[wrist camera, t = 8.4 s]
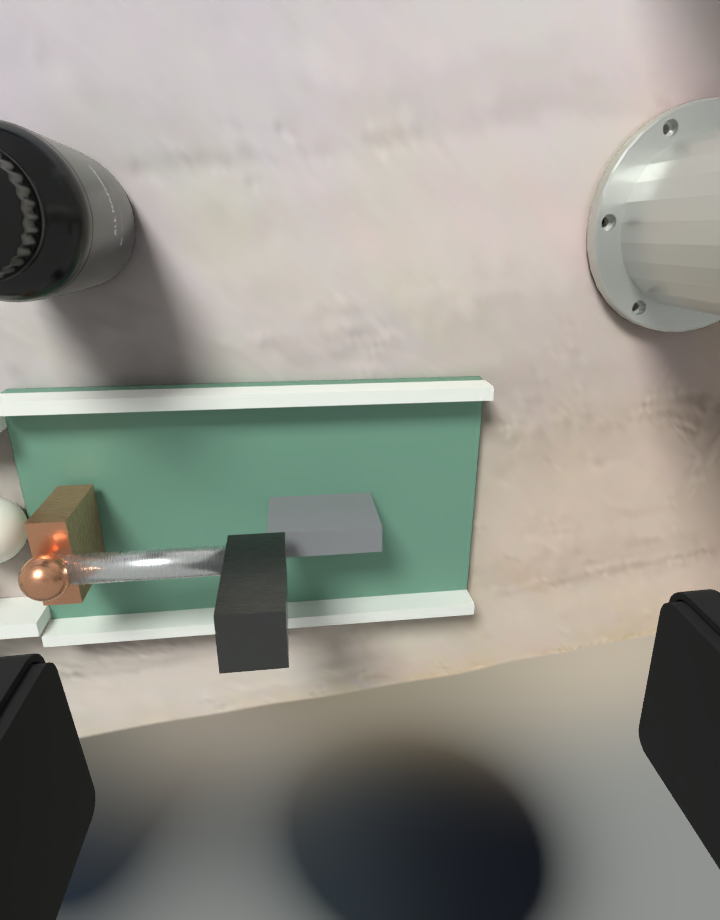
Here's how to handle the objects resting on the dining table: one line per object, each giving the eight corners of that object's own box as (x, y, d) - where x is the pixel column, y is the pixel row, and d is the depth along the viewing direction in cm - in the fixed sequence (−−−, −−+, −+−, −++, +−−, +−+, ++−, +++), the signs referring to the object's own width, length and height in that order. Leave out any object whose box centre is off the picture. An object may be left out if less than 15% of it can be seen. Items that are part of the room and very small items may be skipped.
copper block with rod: (283, 475, 36) (284, 591, 24) (287, 546, 37) (289, 685, 26) (54, 486, 34) (-62, 614, 23) (69, 559, 36) (-30, 713, 24)
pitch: (479, 376, 37) (514, 402, 31) (462, 591, 42) (489, 645, 37) (-116, 392, 32) (-198, 425, 27) (-44, 627, 38) (-99, 694, 33)
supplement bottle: (164, 213, 31) (98, 204, 20) (92, 313, 32) (-6, 356, 21) (45, 114, 29) (-103, 41, 18) (-26, 226, 30) (-206, 222, 19)
